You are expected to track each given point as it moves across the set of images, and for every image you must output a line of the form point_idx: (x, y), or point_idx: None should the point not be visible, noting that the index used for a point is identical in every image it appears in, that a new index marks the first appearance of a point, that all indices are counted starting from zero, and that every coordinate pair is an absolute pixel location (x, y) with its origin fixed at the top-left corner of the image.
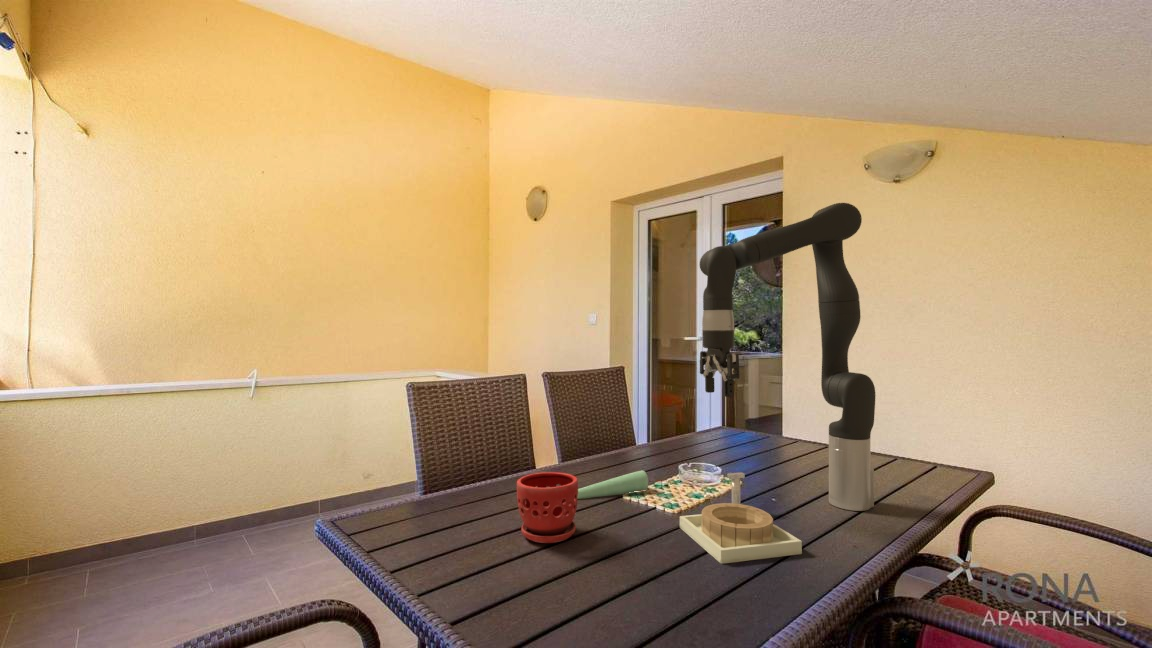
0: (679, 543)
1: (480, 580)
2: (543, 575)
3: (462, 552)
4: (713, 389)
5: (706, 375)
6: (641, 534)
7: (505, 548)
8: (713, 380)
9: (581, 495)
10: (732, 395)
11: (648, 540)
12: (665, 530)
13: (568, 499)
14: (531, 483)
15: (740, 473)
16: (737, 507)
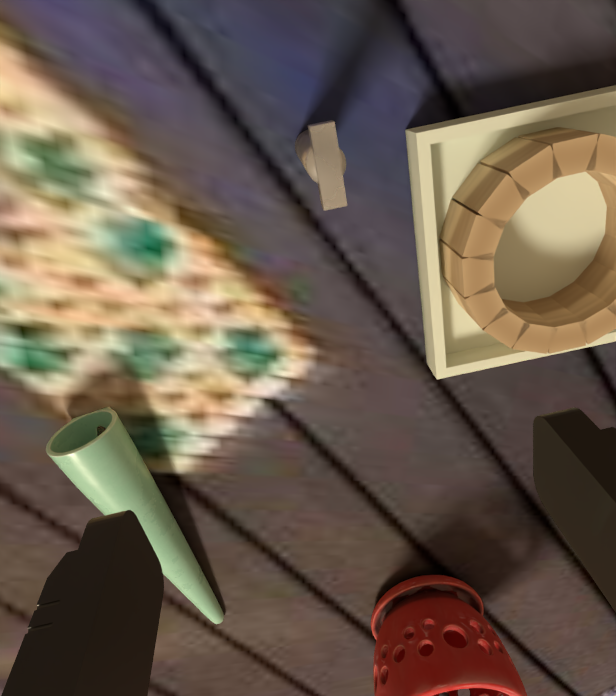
0: (518, 381)
1: (565, 657)
2: (577, 596)
3: (467, 692)
4: (125, 539)
5: None
6: (451, 452)
7: None
8: (93, 665)
9: (200, 571)
10: (575, 416)
11: (486, 442)
12: (437, 399)
13: (508, 660)
14: None
15: (328, 142)
16: (504, 224)
